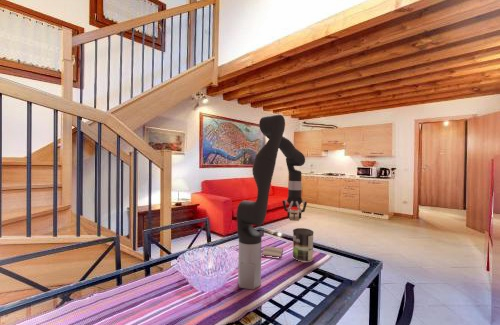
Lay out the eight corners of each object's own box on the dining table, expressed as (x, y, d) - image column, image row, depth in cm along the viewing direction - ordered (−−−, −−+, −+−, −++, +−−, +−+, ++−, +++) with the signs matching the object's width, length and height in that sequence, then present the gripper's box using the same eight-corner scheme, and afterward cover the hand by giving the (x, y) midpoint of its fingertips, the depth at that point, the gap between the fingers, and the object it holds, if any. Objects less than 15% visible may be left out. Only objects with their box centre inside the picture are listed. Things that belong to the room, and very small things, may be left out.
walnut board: (280, 258, 119) (280, 256, 119) (261, 256, 121) (261, 254, 121) (282, 250, 131) (282, 248, 131) (265, 248, 133) (265, 246, 133)
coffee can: (298, 263, 114) (299, 234, 114) (289, 255, 124) (289, 228, 124) (317, 261, 117) (317, 233, 117) (306, 253, 127) (306, 227, 127)
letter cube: (298, 221, 129) (298, 211, 129) (289, 220, 130) (289, 211, 130) (298, 219, 134) (299, 209, 134) (290, 218, 135) (290, 209, 135)
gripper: (281, 188, 130) (280, 219, 130) (308, 190, 127) (307, 221, 127) (282, 187, 137) (282, 216, 137) (307, 188, 134) (307, 218, 134)
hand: (294, 218), depth 132 cm, fingers closed on letter cube, 5 cm apart
